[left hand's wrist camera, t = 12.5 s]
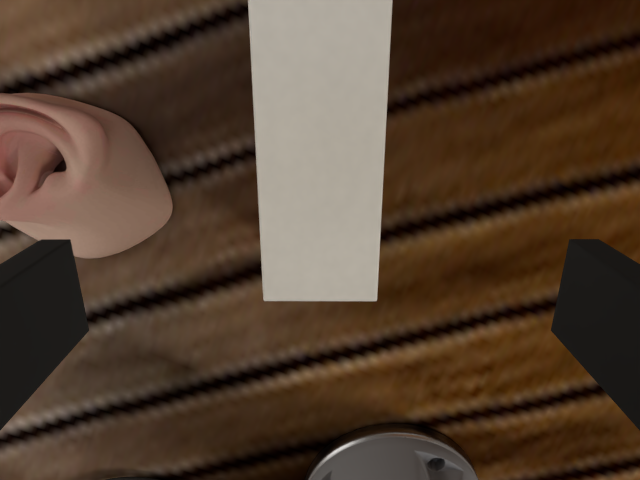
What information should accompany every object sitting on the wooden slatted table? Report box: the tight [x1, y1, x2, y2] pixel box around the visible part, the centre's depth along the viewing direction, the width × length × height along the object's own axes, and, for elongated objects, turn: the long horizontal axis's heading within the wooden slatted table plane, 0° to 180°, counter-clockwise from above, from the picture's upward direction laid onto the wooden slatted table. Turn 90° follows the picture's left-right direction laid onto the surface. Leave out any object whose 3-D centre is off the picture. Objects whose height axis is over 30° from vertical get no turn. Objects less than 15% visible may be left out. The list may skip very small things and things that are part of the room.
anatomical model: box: [0, 93, 173, 258], centre depth 28 cm, size 13×4×12 cm
